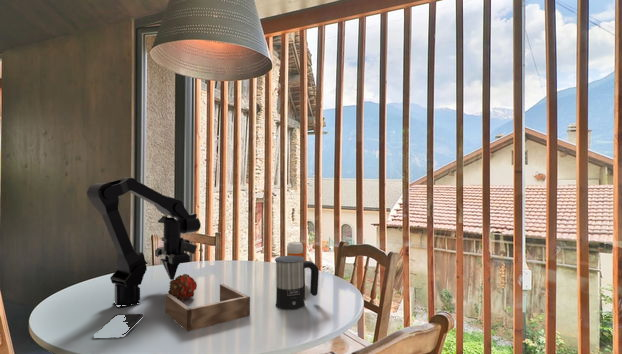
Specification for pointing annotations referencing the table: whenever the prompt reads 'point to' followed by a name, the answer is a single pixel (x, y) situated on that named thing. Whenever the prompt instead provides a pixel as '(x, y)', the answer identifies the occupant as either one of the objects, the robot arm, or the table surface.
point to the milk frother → (293, 281)
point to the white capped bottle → (295, 249)
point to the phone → (131, 319)
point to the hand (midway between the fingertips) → (171, 279)
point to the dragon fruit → (182, 287)
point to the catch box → (209, 309)
